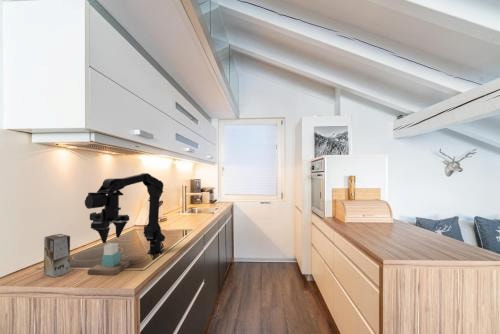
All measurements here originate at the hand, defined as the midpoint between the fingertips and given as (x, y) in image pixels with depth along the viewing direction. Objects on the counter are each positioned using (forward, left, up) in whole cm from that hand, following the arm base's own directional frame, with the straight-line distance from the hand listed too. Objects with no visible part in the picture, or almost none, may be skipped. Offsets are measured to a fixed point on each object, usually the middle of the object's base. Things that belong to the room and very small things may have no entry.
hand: (111, 240), depth 109 cm
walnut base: (0, 0, -13) cm, 13 cm away
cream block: (0, 0, -6) cm, 6 cm away
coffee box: (+6, -21, -13) cm, 26 cm away
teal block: (0, 0, -11) cm, 11 cm away
